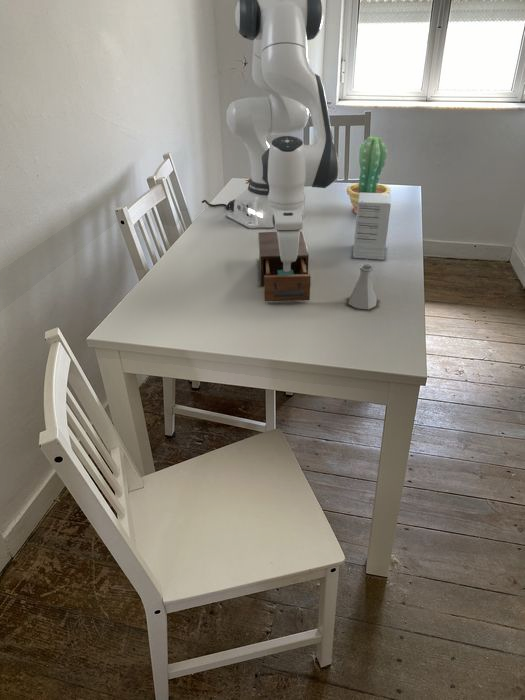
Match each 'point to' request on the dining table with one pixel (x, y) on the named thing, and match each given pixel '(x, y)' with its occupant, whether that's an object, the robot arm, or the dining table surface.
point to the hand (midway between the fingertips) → (285, 263)
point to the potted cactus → (369, 170)
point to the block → (281, 272)
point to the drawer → (286, 282)
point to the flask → (363, 290)
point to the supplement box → (371, 225)
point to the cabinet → (277, 250)
